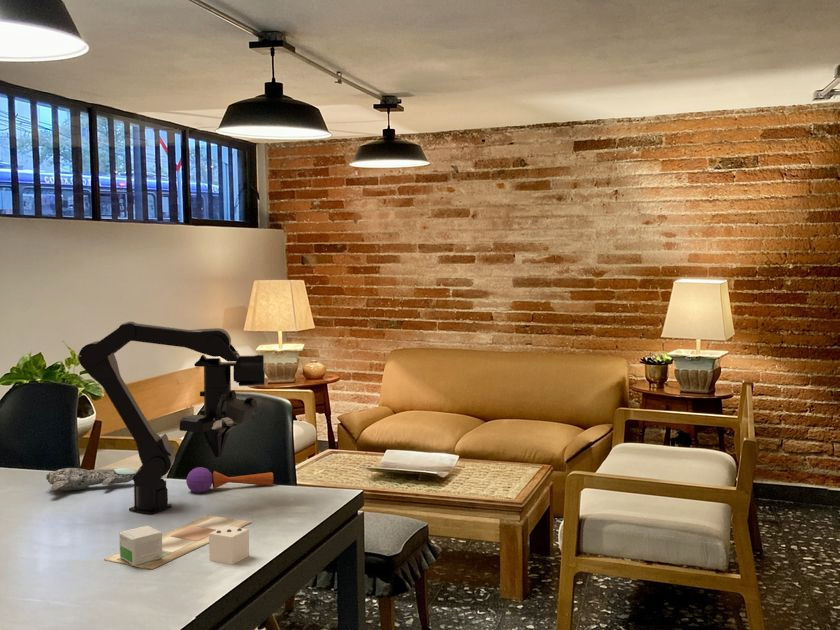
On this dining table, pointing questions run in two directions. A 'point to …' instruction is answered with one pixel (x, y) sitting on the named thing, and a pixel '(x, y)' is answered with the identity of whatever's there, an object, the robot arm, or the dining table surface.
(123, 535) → the small box
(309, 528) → the dining table surface
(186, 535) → the game board
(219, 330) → the robot arm
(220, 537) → the die
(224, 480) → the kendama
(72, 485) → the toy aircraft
